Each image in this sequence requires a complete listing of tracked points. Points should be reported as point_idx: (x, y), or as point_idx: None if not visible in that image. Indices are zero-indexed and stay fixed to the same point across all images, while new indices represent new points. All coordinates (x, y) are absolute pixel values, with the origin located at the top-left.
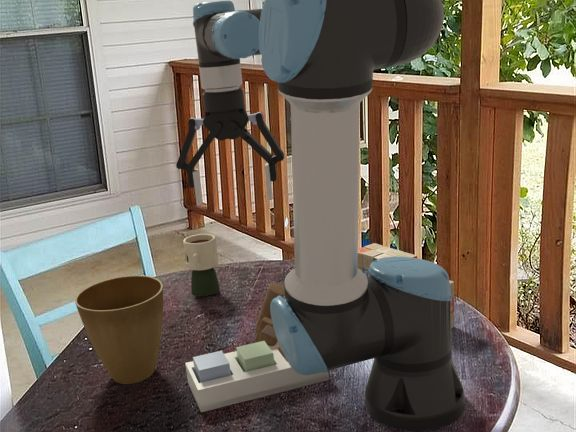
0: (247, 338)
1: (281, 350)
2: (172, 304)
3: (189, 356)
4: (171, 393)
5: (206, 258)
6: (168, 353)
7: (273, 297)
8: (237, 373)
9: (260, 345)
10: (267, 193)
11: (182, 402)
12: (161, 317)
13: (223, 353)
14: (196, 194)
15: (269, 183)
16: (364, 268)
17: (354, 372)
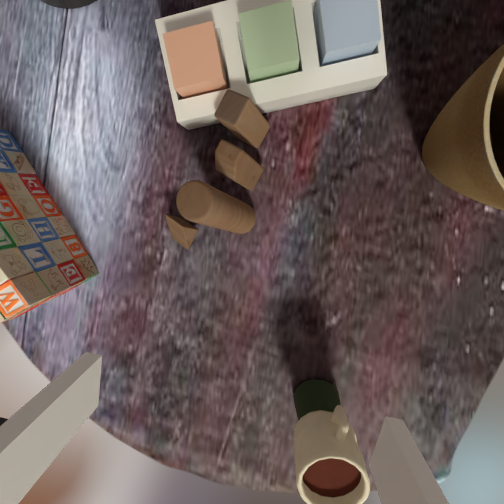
0: (269, 215)
1: (223, 69)
2: (372, 375)
3: (362, 182)
4: (401, 65)
5: (318, 427)
6: (394, 202)
7: (210, 186)
8: (304, 6)
9: (256, 52)
10: (83, 372)
11: (388, 30)
12: (454, 106)
13: (324, 38)
14: (422, 464)
15: (33, 403)
16: (32, 267)
17: (131, 54)
